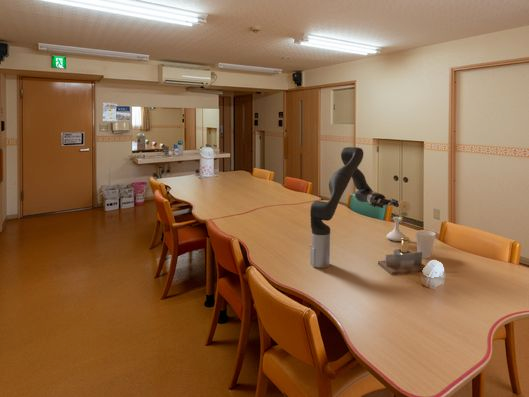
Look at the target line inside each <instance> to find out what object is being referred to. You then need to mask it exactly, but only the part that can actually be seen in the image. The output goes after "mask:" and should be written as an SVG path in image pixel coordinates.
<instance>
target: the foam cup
mask: <svg viewBox="0 0 529 397" xmlns="http://www.w3.org/2000/svg"><path fill="white" fill-rule="evenodd" d="M415 232H416V233H415V237H416V248H417V249H416V252H422V259H429V258H431V256H432V252H433V248H434V244H435V240H436V236H437V235H436V233H435V232H434V231H431V230H423V229H422V230H416V231H415Z"/></svg>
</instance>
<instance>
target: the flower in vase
mask: <svg viewBox="0 0 529 397" xmlns="http://www.w3.org/2000/svg"><path fill="white" fill-rule="evenodd" d="M398 203H399V206H398V209H399V210H400V214H397V213H395V212H393V214H394V215H395V216H393V217H392V219H393V222H394V229H393V230H391V231H390V232H388V233H387V234H386V238H387V240H390V241H394V242H402V239H401V237H407V236H406V235H405V234H404V233H403V232H402V231H400V229H399V226H400V222H401V220H402V217H400V216H401V215H402V216H403V217H407V216H408V215H409V213H408V212H410V211H411V209H412V206H411V203H410V202H409V201H408V200H406V199H405V200H404V199H402V200H401V201H398Z"/></svg>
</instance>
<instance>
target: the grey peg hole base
mask: <svg viewBox="0 0 529 397" xmlns="http://www.w3.org/2000/svg"><path fill="white" fill-rule="evenodd" d="M385 261H386V260H378V261H377V265H379V266H380V267H381V268H382V269H384V270H385V271H386V272H387V273H388V274H390V275H391V276H397V275H407V274H419V273H423V272H422V270H423V268H424V267H425V266H426V265H425V264H424V263H423V262H422V263H421V264H414V267H408V268H400V267H398V266H388V267H386V266H385Z"/></svg>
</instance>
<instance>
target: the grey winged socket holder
mask: <svg viewBox="0 0 529 397" xmlns="http://www.w3.org/2000/svg"><path fill="white" fill-rule="evenodd" d="M422 260H423V258H422V252H417V251H414V252H413V251H412V250H410V249H408V251H407V253H401V248H400V249H393V253H392V254H391V253H390V254H389V253H388V254H387V253H386V254H385V260H384V261H385V266H386V267H388V266H398V267H400V268H408V267H414V264H421V263H422V264H423V262H422Z"/></svg>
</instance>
